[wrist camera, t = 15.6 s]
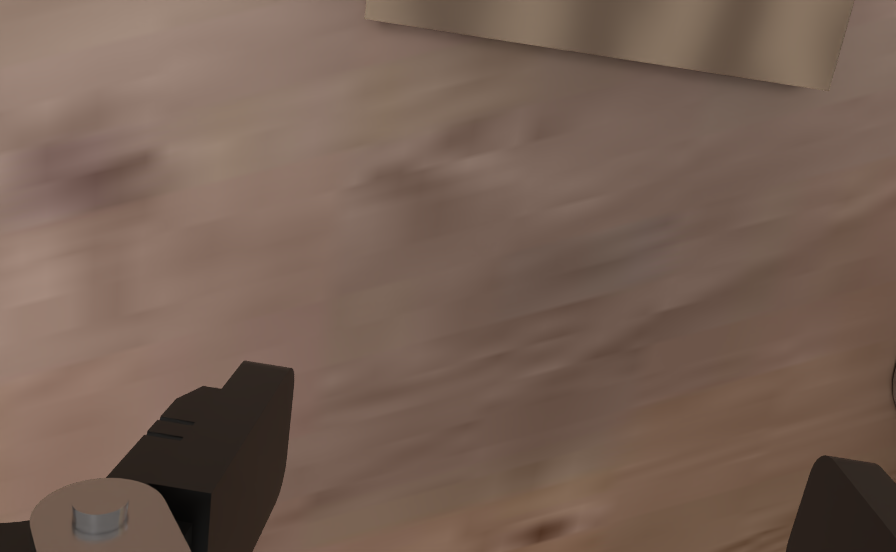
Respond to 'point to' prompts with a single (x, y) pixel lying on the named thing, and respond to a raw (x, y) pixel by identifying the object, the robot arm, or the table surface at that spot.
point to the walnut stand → (655, 31)
